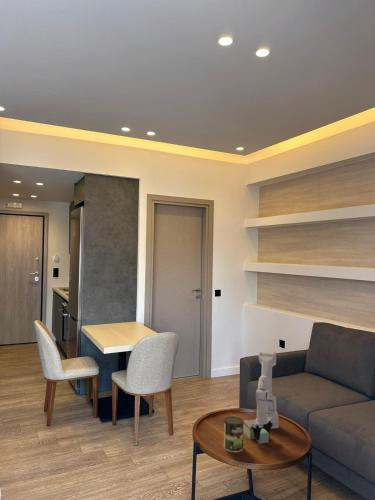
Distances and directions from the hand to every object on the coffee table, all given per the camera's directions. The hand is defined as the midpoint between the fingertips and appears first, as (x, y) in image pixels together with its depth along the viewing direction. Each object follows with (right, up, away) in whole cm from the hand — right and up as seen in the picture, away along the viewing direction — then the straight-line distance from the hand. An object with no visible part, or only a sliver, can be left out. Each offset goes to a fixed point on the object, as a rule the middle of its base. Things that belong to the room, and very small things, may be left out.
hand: (262, 438), depth 199 cm
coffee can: (-16, -1, -8) cm, 18 cm away
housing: (-2, -2, +9) cm, 9 cm away
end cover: (-1, -2, +3) cm, 3 cm away
